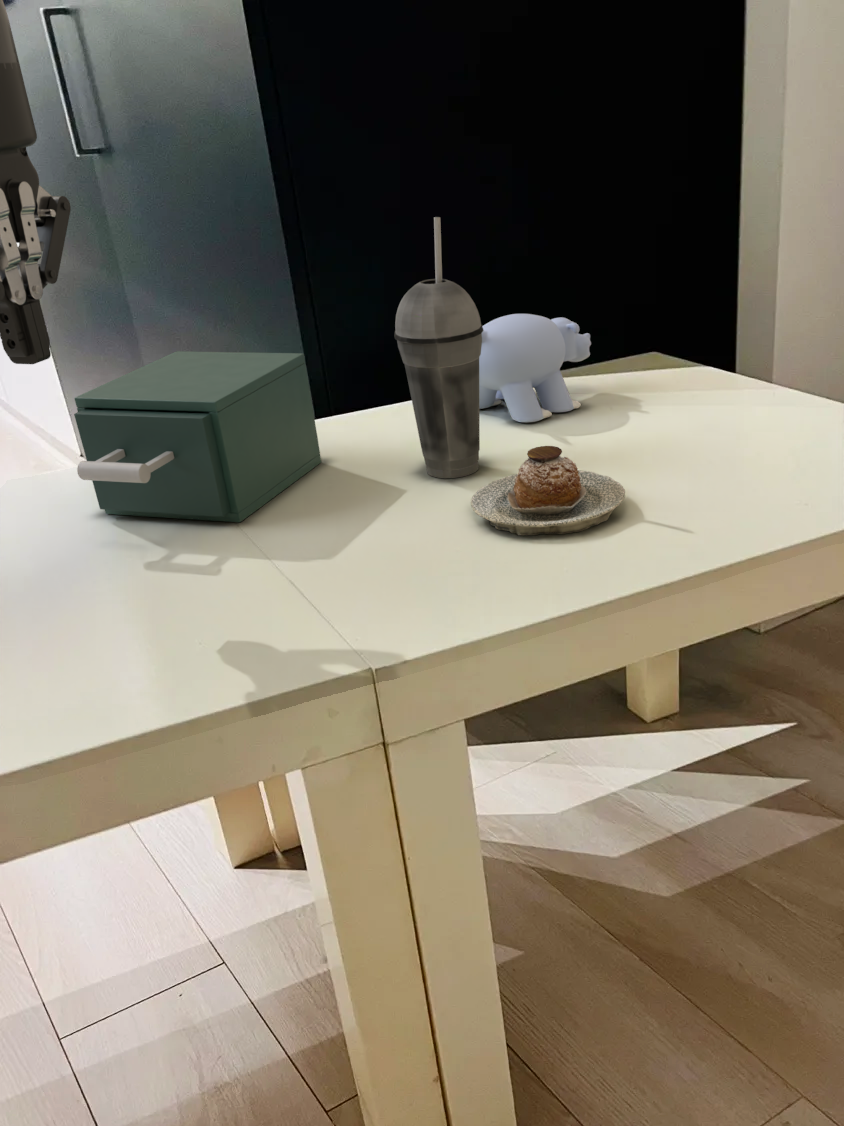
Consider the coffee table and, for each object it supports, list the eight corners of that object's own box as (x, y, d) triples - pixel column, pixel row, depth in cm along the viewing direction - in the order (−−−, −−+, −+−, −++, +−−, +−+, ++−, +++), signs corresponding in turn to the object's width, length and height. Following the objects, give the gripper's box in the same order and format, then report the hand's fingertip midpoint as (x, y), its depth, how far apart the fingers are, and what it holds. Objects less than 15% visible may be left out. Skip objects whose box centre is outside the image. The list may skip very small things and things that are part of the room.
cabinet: (240, 522, 89) (215, 401, 84) (105, 514, 93) (73, 397, 88) (321, 462, 101) (304, 353, 96) (199, 456, 105) (176, 351, 100)
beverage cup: (393, 476, 97) (360, 225, 86) (446, 451, 102) (421, 210, 91) (459, 489, 93) (433, 228, 83) (511, 462, 98) (493, 213, 88)
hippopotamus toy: (621, 395, 114) (619, 296, 109) (511, 431, 106) (503, 326, 101) (548, 378, 121) (544, 285, 116) (439, 411, 113) (429, 312, 108)
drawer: (189, 541, 84) (165, 438, 80) (61, 532, 87) (32, 433, 83) (302, 460, 99) (287, 370, 95) (189, 455, 102) (169, 368, 98)
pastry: (640, 487, 91) (640, 430, 89) (602, 544, 81) (600, 483, 79) (501, 479, 94) (497, 425, 92) (449, 533, 85) (443, 474, 82)
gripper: (-26, 59, 72) (47, 337, 81) (-193, 65, 61) (-88, 386, 70) (74, 54, 70) (137, 339, 79) (-82, 59, 59) (12, 390, 68)
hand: (31, 361), depth 75 cm, fingers closed
